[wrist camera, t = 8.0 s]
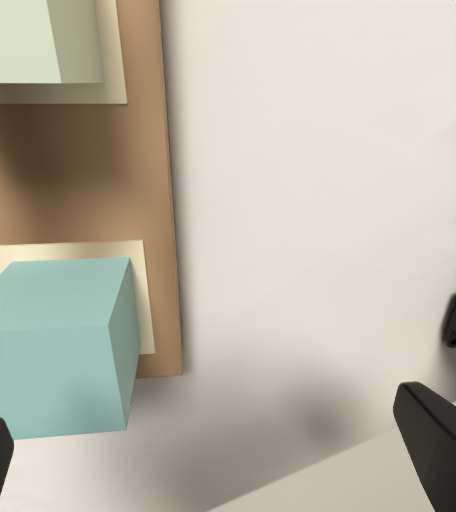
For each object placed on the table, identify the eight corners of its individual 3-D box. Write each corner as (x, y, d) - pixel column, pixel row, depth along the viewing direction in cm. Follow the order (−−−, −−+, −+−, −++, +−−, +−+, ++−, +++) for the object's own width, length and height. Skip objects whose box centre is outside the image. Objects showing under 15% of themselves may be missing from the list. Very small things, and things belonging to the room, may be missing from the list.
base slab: (148, -164, 12) (138, -224, 10) (182, 345, 22) (182, 377, 19) (-142, -185, 11) (-231, -256, 9) (29, 355, 21) (8, 390, 19)
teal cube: (129, 256, 16) (107, 325, 11) (140, 344, 18) (125, 430, 14) (12, 261, 15) (-59, 334, 11) (38, 350, 18) (-12, 441, 13)
